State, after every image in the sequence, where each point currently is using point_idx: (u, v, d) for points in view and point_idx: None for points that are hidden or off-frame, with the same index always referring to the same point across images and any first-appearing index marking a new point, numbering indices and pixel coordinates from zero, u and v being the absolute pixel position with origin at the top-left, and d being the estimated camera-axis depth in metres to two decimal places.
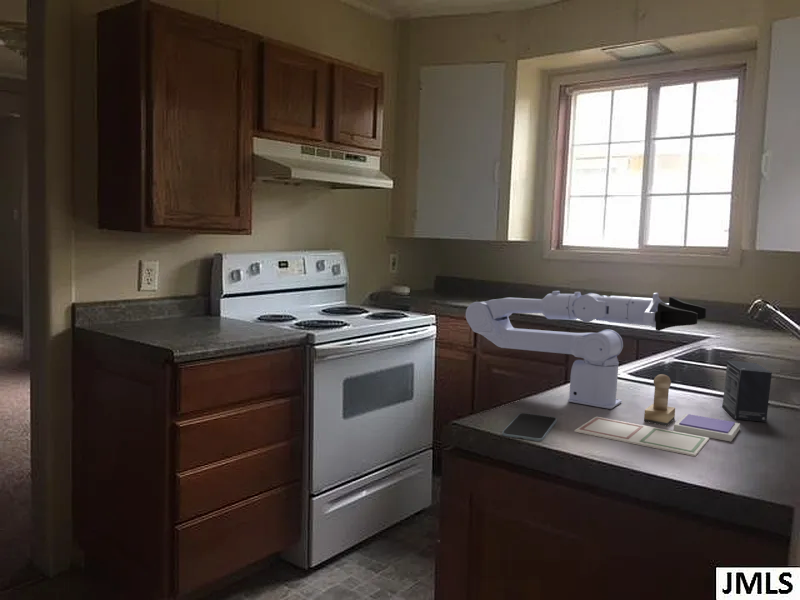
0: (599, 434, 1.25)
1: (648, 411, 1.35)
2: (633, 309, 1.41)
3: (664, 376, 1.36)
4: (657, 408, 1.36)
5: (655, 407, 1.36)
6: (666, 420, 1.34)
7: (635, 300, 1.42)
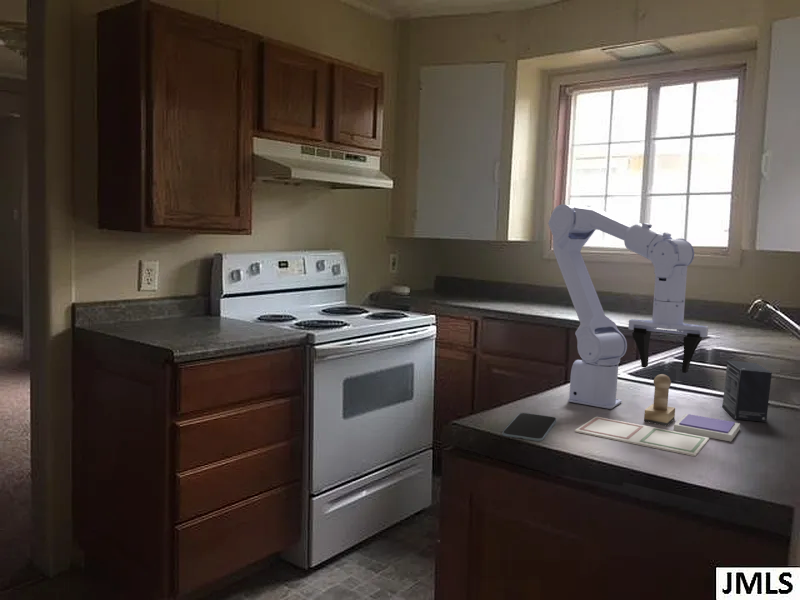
0: (599, 434, 1.25)
1: (648, 411, 1.35)
2: (653, 305, 1.36)
3: (664, 376, 1.36)
4: (657, 408, 1.36)
5: (655, 407, 1.36)
6: (666, 420, 1.34)
7: (658, 306, 1.33)
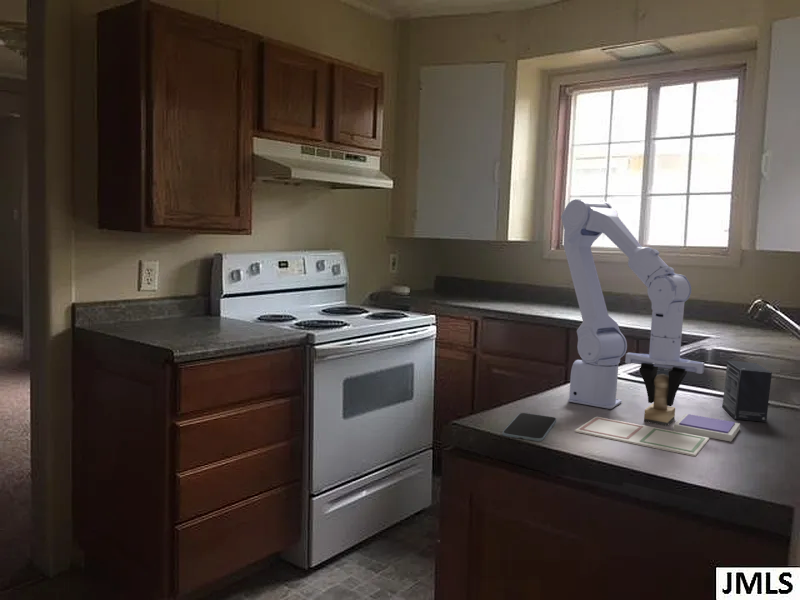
0: (599, 434, 1.25)
1: (648, 411, 1.35)
2: (650, 340, 1.37)
3: (664, 376, 1.36)
4: (657, 408, 1.36)
5: (655, 407, 1.36)
6: (666, 420, 1.34)
7: (654, 341, 1.34)
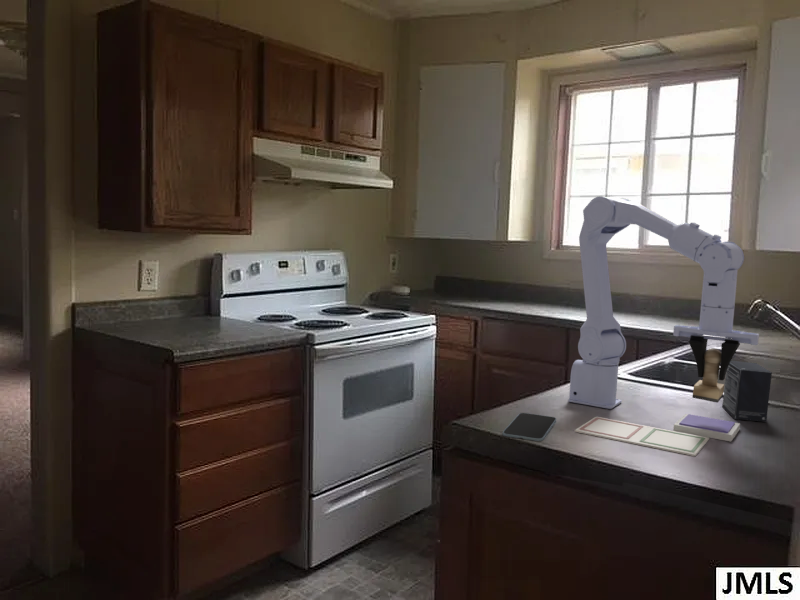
0: (599, 434, 1.25)
1: (698, 387, 1.29)
2: (700, 311, 1.30)
3: (716, 350, 1.29)
4: (707, 384, 1.30)
5: (704, 383, 1.30)
6: (717, 396, 1.27)
7: (706, 312, 1.28)
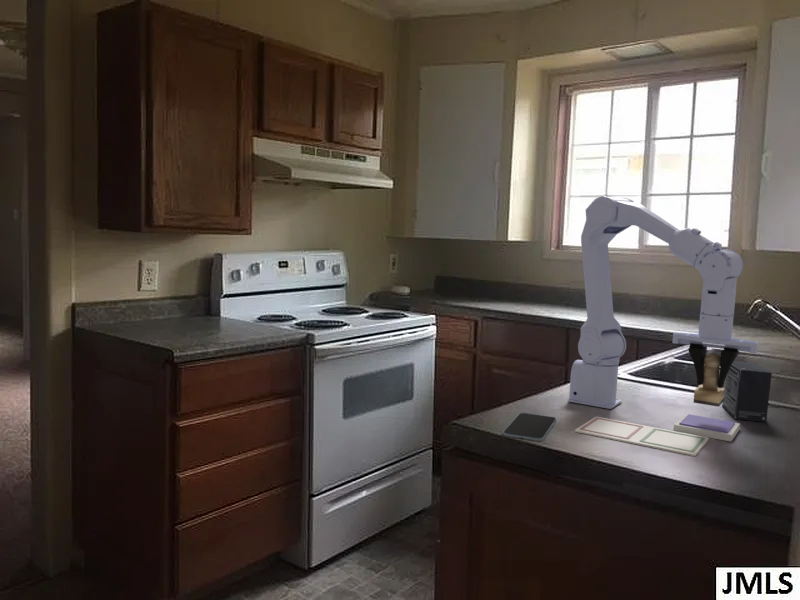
0: (599, 434, 1.25)
1: (698, 391, 1.29)
2: None
3: (715, 354, 1.29)
4: (707, 388, 1.30)
5: (705, 387, 1.30)
6: (718, 400, 1.27)
7: (705, 320, 1.28)
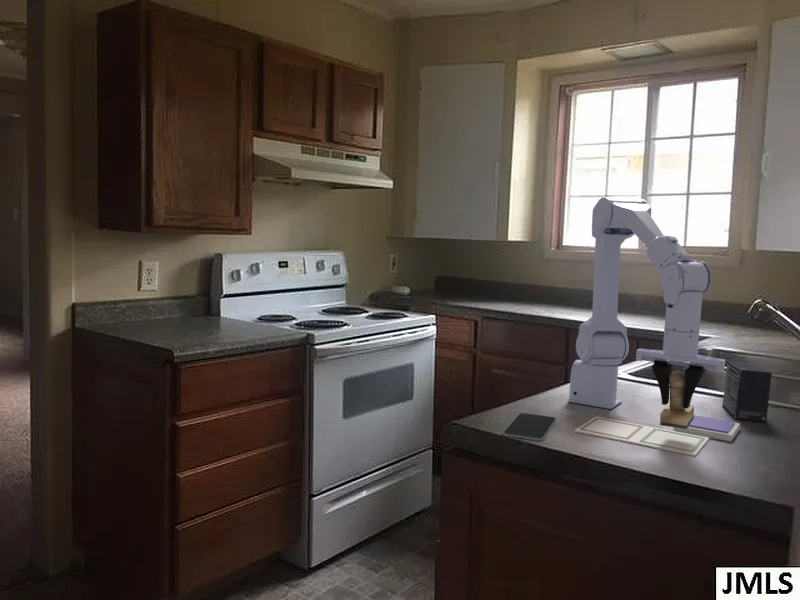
0: (599, 434, 1.25)
1: (664, 413, 1.22)
2: (664, 334, 1.22)
3: (680, 373, 1.21)
4: (674, 409, 1.22)
5: (672, 408, 1.23)
6: (685, 423, 1.20)
7: (669, 336, 1.20)
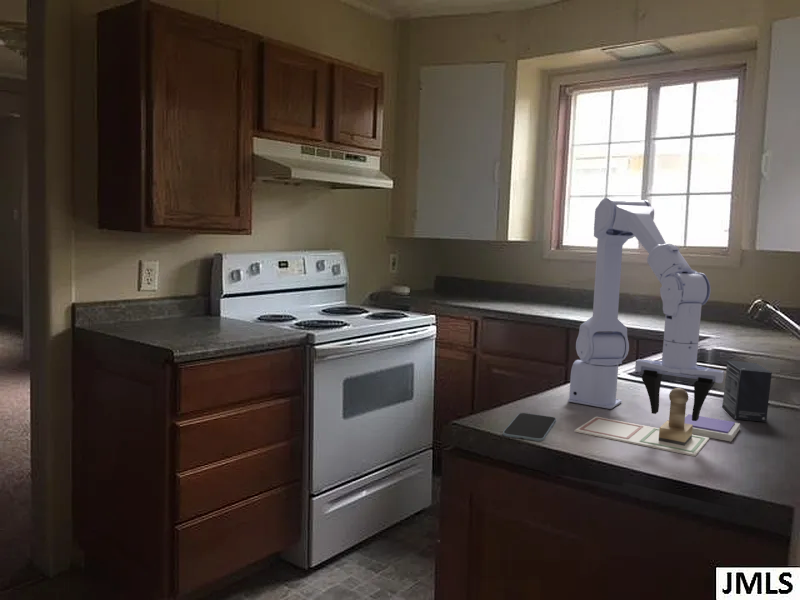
0: (599, 434, 1.25)
1: (663, 429, 1.22)
2: (663, 345, 1.23)
3: (681, 390, 1.22)
4: (673, 425, 1.23)
5: (671, 424, 1.23)
6: (683, 439, 1.20)
7: (668, 347, 1.20)
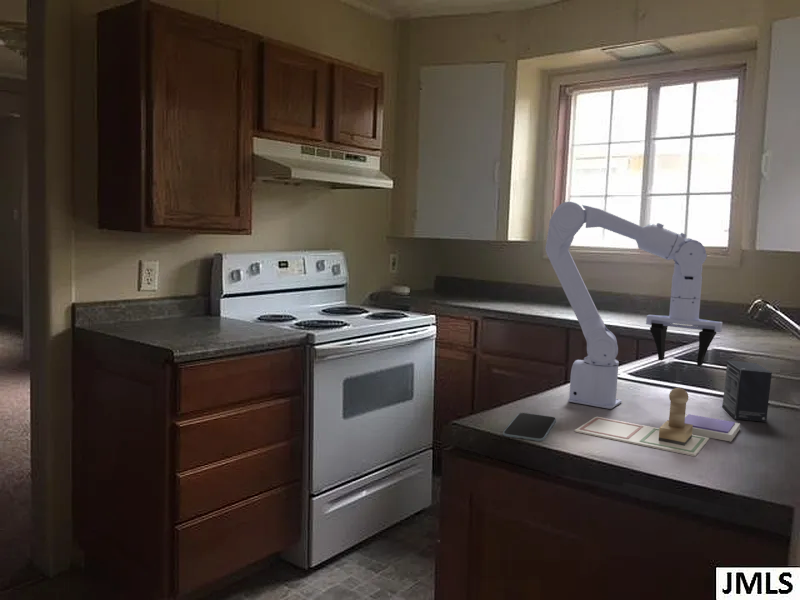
0: (599, 434, 1.25)
1: (663, 429, 1.22)
2: (670, 301, 1.43)
3: (681, 390, 1.22)
4: (673, 425, 1.23)
5: (671, 424, 1.23)
6: (683, 439, 1.20)
7: (675, 302, 1.41)
